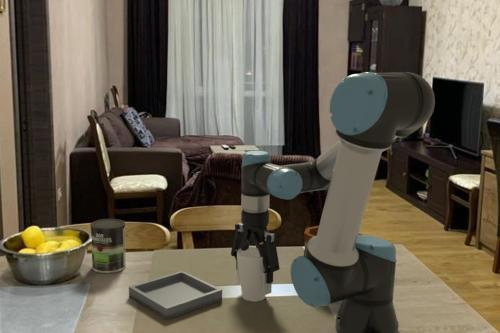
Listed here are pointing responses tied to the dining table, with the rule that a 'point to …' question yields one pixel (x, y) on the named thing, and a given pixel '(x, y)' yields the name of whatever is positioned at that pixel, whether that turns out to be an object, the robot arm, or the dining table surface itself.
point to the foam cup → (251, 273)
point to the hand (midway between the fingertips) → (253, 287)
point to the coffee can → (108, 245)
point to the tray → (175, 294)
